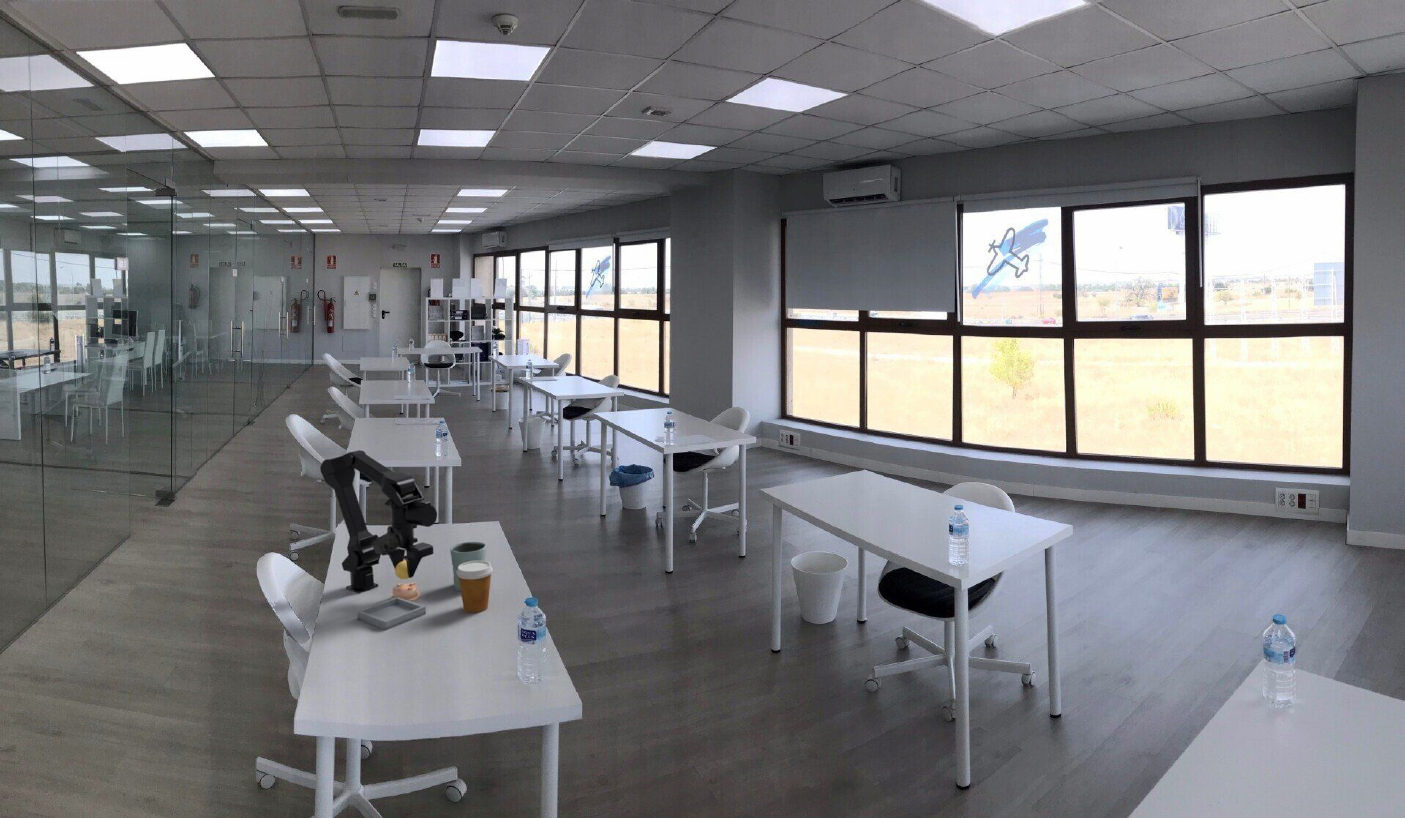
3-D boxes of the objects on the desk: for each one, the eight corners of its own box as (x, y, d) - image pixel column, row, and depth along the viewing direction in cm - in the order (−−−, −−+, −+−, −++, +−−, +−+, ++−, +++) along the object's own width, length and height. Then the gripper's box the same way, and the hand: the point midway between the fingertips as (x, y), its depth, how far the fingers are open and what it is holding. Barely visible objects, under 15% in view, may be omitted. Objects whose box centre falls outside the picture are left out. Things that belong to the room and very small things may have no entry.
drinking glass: (459, 595, 212) (457, 554, 210) (446, 584, 220) (444, 545, 218) (492, 587, 218) (491, 547, 217) (479, 577, 226) (478, 539, 225)
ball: (391, 579, 208) (390, 562, 207) (406, 574, 212) (406, 557, 211) (402, 583, 205) (402, 565, 205) (418, 577, 209) (417, 560, 209)
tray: (357, 619, 195) (357, 611, 195) (397, 604, 205) (397, 596, 205) (386, 629, 189) (385, 622, 188) (425, 613, 199) (425, 606, 198)
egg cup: (385, 599, 208) (384, 587, 208) (408, 590, 215) (407, 578, 214) (402, 605, 204) (401, 592, 204) (425, 596, 211) (425, 584, 210)
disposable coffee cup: (483, 616, 197) (482, 573, 196) (450, 613, 199) (449, 570, 198) (500, 602, 207) (499, 561, 205) (468, 599, 209) (467, 558, 207)
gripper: (355, 523, 205) (358, 577, 207) (398, 534, 195) (400, 591, 197) (391, 514, 214) (393, 566, 216) (433, 524, 204) (435, 579, 206)
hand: (404, 575), depth 209 cm, fingers closed on ball, 5 cm apart
